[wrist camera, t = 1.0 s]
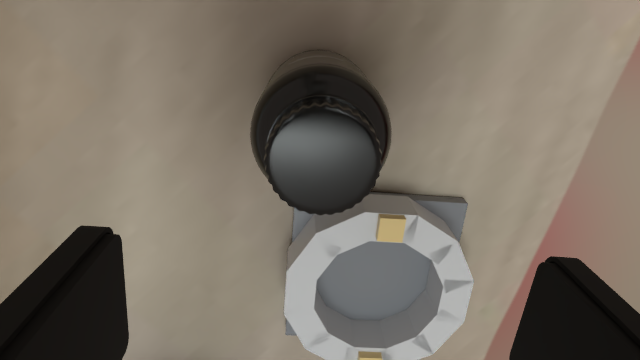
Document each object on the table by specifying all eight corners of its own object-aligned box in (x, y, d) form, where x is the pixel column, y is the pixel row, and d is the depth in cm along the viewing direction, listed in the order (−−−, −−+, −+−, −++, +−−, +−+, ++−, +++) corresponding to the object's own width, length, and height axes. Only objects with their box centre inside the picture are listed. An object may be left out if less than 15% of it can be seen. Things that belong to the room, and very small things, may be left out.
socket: (292, 183, 31) (290, 211, 26) (467, 194, 32) (493, 224, 27) (282, 328, 35) (279, 373, 31) (436, 335, 36) (454, 379, 32)
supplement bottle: (324, 24, 27) (341, 35, 16) (389, 109, 29) (444, 172, 18) (242, 96, 28) (203, 152, 17) (310, 172, 30) (314, 266, 19)
